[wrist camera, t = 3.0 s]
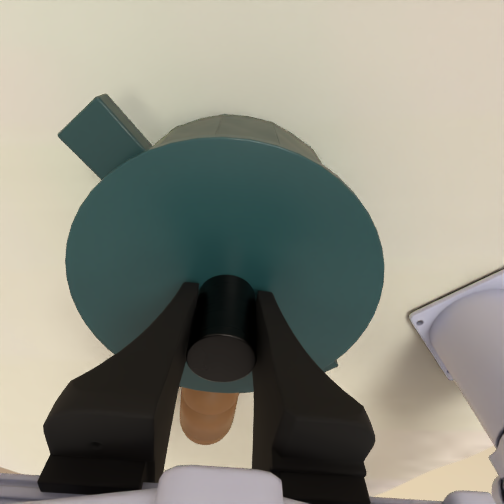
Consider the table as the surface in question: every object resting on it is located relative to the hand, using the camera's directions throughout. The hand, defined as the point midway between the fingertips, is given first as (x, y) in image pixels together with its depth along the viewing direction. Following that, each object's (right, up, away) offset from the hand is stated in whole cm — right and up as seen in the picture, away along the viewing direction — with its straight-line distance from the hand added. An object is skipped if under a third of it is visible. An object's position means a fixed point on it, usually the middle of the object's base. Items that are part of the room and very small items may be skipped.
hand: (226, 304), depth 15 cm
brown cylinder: (-2, -9, +15) cm, 17 cm away
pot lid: (0, +1, +1) cm, 1 cm away
